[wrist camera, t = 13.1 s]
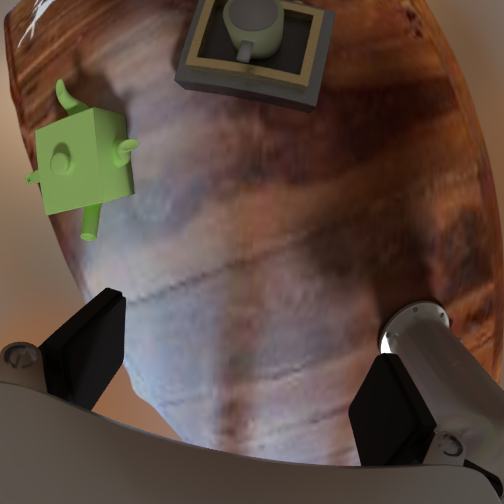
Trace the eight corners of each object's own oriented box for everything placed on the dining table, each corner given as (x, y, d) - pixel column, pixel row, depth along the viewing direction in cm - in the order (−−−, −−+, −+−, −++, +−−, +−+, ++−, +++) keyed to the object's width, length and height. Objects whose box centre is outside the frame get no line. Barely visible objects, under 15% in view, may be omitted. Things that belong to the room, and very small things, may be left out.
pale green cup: (286, 24, 27) (289, -6, 20) (271, 79, 30) (271, 58, 22) (239, 15, 27) (230, -15, 20) (222, 70, 29) (209, 48, 22)
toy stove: (329, 21, 31) (340, -3, 24) (309, 113, 35) (319, 103, 28) (211, 0, 31) (202, -25, 24) (185, 89, 35) (168, 75, 28)
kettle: (98, 91, 35) (52, 75, 24) (173, 139, 37) (140, 132, 26) (52, 179, 39) (2, 188, 28) (117, 232, 41) (75, 255, 30)
